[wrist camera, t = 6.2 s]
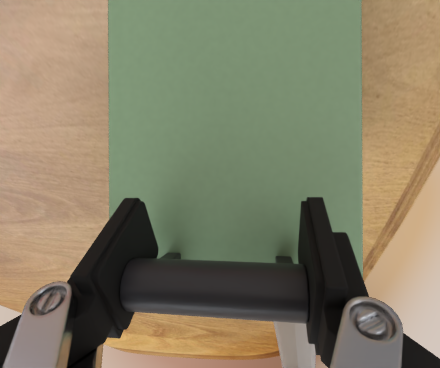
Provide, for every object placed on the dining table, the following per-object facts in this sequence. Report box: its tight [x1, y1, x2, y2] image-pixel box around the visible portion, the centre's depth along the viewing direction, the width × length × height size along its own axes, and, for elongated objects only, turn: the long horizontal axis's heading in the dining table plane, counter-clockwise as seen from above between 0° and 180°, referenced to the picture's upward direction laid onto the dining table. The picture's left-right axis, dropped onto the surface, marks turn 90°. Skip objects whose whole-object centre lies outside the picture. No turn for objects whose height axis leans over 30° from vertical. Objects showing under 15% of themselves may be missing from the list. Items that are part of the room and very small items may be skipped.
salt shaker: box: [274, 322, 316, 368], centre depth 33 cm, size 6×6×13 cm
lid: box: [108, 0, 363, 324], centre depth 11 cm, size 15×12×5 cm
